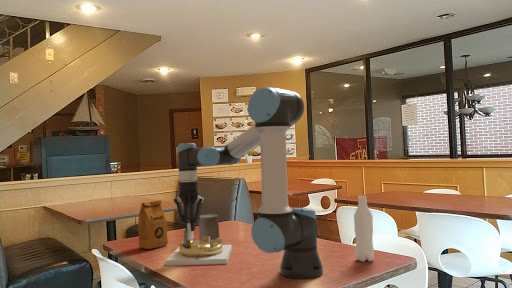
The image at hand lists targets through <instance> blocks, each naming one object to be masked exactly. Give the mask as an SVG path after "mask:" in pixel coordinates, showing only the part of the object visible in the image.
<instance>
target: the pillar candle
mask: <svg viewBox="0 0 512 288" xmlns="http://www.w3.org/2000/svg"><path fill="white" fill-rule="evenodd" d="M219 225H220V220H219V214H216V213H211V214H210V212H208V213H207V214H200V218H199V221H198V235H199V237H198V238H199V239H198V240H202V237H203V236H210V240H216V238H220V226H219Z"/></svg>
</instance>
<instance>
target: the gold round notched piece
mask: <svg viewBox="0 0 512 288" xmlns="http://www.w3.org/2000/svg"><path fill="white" fill-rule="evenodd" d="M222 245H223V238H221V237H219V238H216V240H210V236H203V237H202V240H200V239H194V238H193V239H191V240H188V231H186V229H185V230H183V241H180V242H179V246H180V254H181V255H183V256H188V257H204V256H211V255H215V254H218V253H220V252H222V250H223V249H222Z"/></svg>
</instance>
